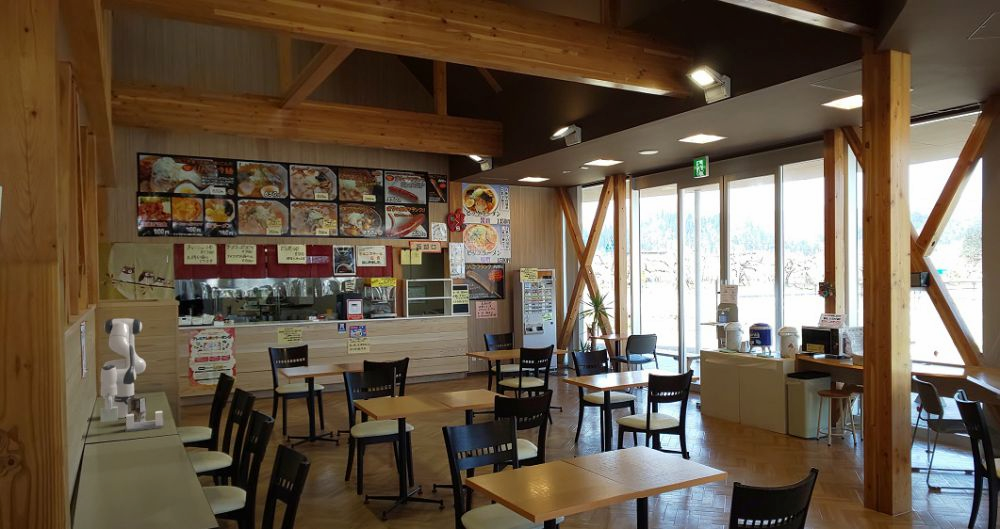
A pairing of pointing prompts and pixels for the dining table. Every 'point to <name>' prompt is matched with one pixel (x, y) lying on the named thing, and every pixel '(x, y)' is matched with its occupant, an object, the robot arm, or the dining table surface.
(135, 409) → the coffee box
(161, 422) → the module rack
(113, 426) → the dining table surface
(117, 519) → the dining table surface
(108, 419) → the block
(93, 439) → the dining table surface
